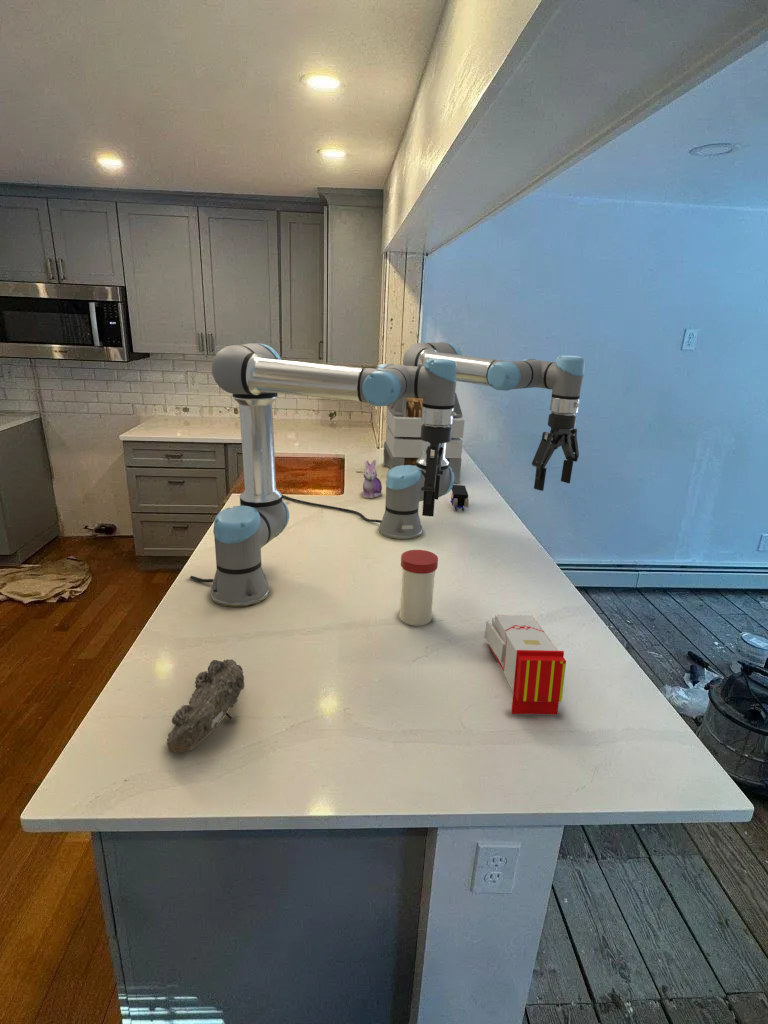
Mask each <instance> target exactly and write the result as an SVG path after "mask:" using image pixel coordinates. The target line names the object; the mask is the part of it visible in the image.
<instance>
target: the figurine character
mask: <svg viewBox="0 0 768 1024" xmlns="http://www.w3.org/2000/svg"><path fill="white" fill-rule="evenodd" d="M449 502H450V504H451V506H452V507H453V508H454V511H456V512H457V511H458V509H461V511H462V512H464V511H465V508H469V505H470V500H469V492H468V490H467V488H466V485H464V484H463V485H461V484H453V487H452V489H451V494H450V501H449Z"/></svg>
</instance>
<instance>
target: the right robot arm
mask: <svg viewBox="0 0 768 1024" xmlns="http://www.w3.org/2000/svg"><path fill="white" fill-rule="evenodd" d="M433 358H435V359H449V360H453V361H455V363H456V365H457V370H456V379H457V382H461V383H465V384H473V385H479V386H487V387H491V388H492V389H494V390H496V391H503V392H504V391H511V390H520V389H532V388H533V389H534V388H539V389H546V390H551V398H550V404H549V413H548V418H547V419H548V420H547V426H548V427H549V428H550V431H549V432H548V431H543V432H542V435H541V440H540V442H539V445H538V447H537V449H536V452H535V454H534V457H533V460H532V461H531V466H533V467H535V475H534V477H535V478H534V485H533V489H534V490H537V491H539V492H543V491H544V489H545V484H546V483H545V482H546V476H547V468H546V466H547V465H548V463H549V461H550V459H551V457H552V456H553V454H554V453H555V451H556V450H557V449H558V448H560V447H561V449H562V452H563V455H564V458H565V459H563V463H562V468H561V469H562V470H561V475H560V482H562V483H566V484H571V478H572V472H573V466H574V463H576V462H578V461H579V457H580V453H579V444H578V428H576V423H577V419H578V416H577V414H578V412H579V411H578V410H579V406H580V397H581V391H582V385H583V380H584V376H585V365H586V360H585V358H584V357H582V356H578V355H566V354H565V355H564V354H563V355H558V356H557V357H556V360H555V361H549V360H541V359H536V358H524V359H521V360H506V359H505V360H504V359H503V360H502V359H496V358H487V357H479V356H471V355H464V354H463V352H462V350H461V349H460V347H459V346H457V345H456V344H455V343H451V342H445V341H443V342H442V341H441V342H440V341H439V342H438V341H437V342H417V343H414V344H412V345H411V346H409V347H408V348H407V350H406V351H405V353H404V355H403V358H402V365H404V366H416V367H422V366H425V363H426V360H427V359H433ZM423 424H424V423H423ZM428 446H430V443H429V442H425V441H423V440H422V449H421V457H420V458H418V459H417V461H416V466H413V465H401V466H396V467H394V468H392V469H390V468H389V470H388V472H387V474H386V479H385V504H384V505H385V507H384V508H385V509H384V513H383V515H382V519H375V518H374V519H373V518H367V517H365V515H363V513H361V512H359V511H356V510H353V509H348V508H344V507H339V506H332V505H328V504H321V503H315V502H310V501H307V500H306V501H305V500H301V499H297V498H293V497H290V496H287V495H284V494H282V499H286V500H290V501H292V502H295V503H298V504H299V503H300V504H303V505H308V506H314V507H320V508H325V509H331V510H337V511H342V512H347V513H352V514H355V515H358V516H360V517H361V519H362V520H364V521H366V522H369V523H377V524H378V523H379V526H378V533H379V534H380V535H381V536H382V537H385V538H387V539H389V540H395V541H410V540H415V539H418V538H420V537H421V536H422V535H423V525H422V524H421V518H420V515H419V507H420V506H419V505H420V502H423V497H424V491H421V487H424V482H425V473H426V457H427V456H426V450H427V448H428ZM442 447H443V454H442V460H441V471H443V475H440V484H439V497H438V498H440V497H443V496H446V495H448V493H450V492H451V491H452V487H453V485H455V483H454V473H452V469H451V467H450V466H449V462H448V461H447V459H446V458H445V453H446V443H442ZM438 475H439V474H438ZM427 486H429V485H427Z"/></svg>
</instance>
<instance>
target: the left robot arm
mask: <svg viewBox="0 0 768 1024" xmlns="http://www.w3.org/2000/svg"><path fill="white" fill-rule="evenodd" d="M456 370H457V365H456V363H455V361H453V360H449V359H435V358H433V359H427V360H426V363H425V366H422V367H416V366H404V365H403V364H394V363H381V364H378V365H377V366H376V368H373V367H359V366H349V365H337V364H326V363H316V362H306V361H294V360H282V358H281V356H280V355H279V353H278V352H277V351H276V350H275V349H274V348H272V347H271V346H270V345H267V344H265V343H259V342H258V343H257V342H250V343H243V344H233V345H232V344H231V345H228V346H225V347H223V348H222V349H220V350H219V351H218V352H217V353H216V354H215V356H214V357H213V360H212V363H211V374H212V378H213V380H214V381H215V383H216V384H217V386H218V387H219V388H220V389H222V390H223V391H225V392H226V393H228V394H231V395H232V398H233V399H234V400H235V401H236V402H237V403H238V408H239V423H240V435H241V436H240V439H241V451H242V453H241V455H242V468H243V469H242V470H243V481H244V482H243V483H244V490H243V491H242V492H241V493H240V495H239V505H234V506H232V507H227V508H224V509H222V510H221V511H219V512H218V513H217V514H216V516H215V517H214V521H213V537H214V550H215V561H216V562H215V564H216V570H215V573H214V577H213V578H200V577H197V576H194V575H190V577H189V579H190V580H192V581H196V582H198V583H212V584H211V587H210V598H211V599H212V601H213V602H214V603H216V604H217V605H220V606H223V607H228V608H244V607H249V606H254V605H256V604H259V603H261V602H262V601H264V600H265V599H267V597H269V594H270V585H269V582H268V579H267V577H266V573H265V572H264V569H263V566H262V548H263V547H265V546H266V545H268V543H270V542H271V541H272V540H273V539H275V538H277V537H278V536H280V534H281V533H283V531H284V530H285V529H286V528H287V526H288V524H289V520H290V510H289V507H288V504H287V503H286V502H285V501H284V498H283V497H282V495H283V493H282V492H281V491H280V490H278V489H277V477H276V476H277V475H276V473H277V472H276V457H275V455H276V454H275V435H274V416H273V403H274V402H275V400H276V399H278V396H279V395H278V394H285V395H293V396H304V397H312V398H313V397H315V398H323V399H334V400H343V401H354V402H361V403H368V404H370V405H372V406H374V407H378V408H379V407H387V406H388V405H390V404H392V403H393V402H395V401H396V400H398V399H400V398H402V397H407V398H419V399H420V398H421V399H423V406H422V420H421V421H422V423H424V424H423V425H422V426H421V439H422V440H423V441H425V442H429V443H430V446H428V448H427V450H426V456H427V457H426V473H425V482H424V487H421V491H424V497H423V501H422V512H421V514H422V515H421V516H423V517H432V518H433V517H434V514H435V503H436V502H435V501H436V500H439V498H440V497H439V484H440V475H443V471H441V460H442V454H443V447H442V443H447V442H450V441H451V435H452V427H451V426H450V425H451V424H452V421H453V417H452V416H455V415H456V413H455V412H452V411H453V408H454V399H455V393H456V389H457V382H458V381H457V379H456ZM438 474H439V475H438ZM427 485H429V486H427Z"/></svg>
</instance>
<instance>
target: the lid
mask: <svg viewBox="0 0 768 1024" xmlns="http://www.w3.org/2000/svg"><path fill="white" fill-rule="evenodd" d="M438 564H439V557H438V555H437V554H436V553H434V552H432V551H429V550H425V549H410V550H406V551H404V552H403V553H401V556H400V567H401V568H403V569H404V570H406V571H408V572H412V573H417V574H426V573H431V572H434V571H435V572H436V571H437V569H438V566H439V565H438Z"/></svg>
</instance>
